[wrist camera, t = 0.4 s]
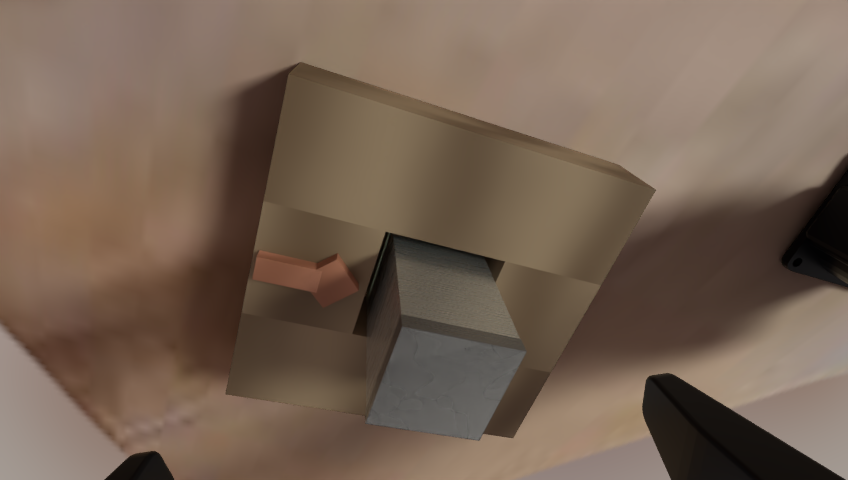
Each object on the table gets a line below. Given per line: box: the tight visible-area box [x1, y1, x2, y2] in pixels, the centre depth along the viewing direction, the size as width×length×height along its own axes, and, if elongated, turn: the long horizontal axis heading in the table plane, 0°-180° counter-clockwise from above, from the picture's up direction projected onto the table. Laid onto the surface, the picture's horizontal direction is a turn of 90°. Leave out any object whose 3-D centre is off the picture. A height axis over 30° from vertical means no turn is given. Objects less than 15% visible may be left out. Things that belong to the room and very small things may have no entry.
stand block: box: [226, 62, 656, 438], centre depth 20 cm, size 14×14×4 cm
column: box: [365, 232, 527, 441], centre depth 18 cm, size 4×4×8 cm
